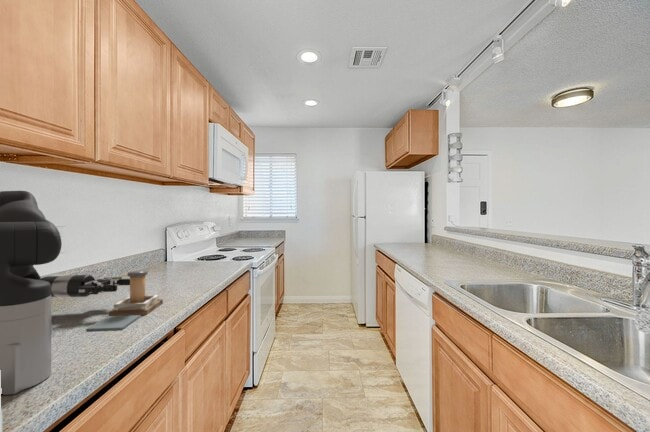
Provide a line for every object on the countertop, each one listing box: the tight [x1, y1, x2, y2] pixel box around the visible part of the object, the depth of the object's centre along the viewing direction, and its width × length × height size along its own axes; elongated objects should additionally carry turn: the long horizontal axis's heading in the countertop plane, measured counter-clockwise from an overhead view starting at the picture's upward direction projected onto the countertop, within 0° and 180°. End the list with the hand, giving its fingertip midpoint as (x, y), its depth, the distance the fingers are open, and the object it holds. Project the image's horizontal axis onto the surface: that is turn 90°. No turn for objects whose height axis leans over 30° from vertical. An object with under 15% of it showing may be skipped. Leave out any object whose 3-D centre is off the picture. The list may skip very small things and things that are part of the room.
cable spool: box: [127, 269, 148, 303], centre depth 101 cm, size 6×6×12 cm
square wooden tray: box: [108, 294, 164, 316], centre depth 101 cm, size 12×12×4 cm
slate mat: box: [86, 315, 142, 332], centre depth 88 cm, size 10×10×1 cm
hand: (124, 284), depth 100 cm, fingers open, 8 cm apart
